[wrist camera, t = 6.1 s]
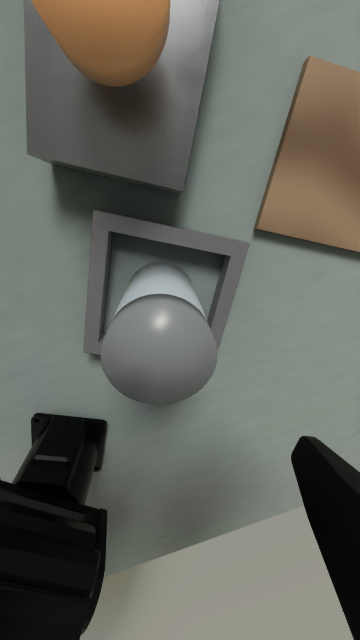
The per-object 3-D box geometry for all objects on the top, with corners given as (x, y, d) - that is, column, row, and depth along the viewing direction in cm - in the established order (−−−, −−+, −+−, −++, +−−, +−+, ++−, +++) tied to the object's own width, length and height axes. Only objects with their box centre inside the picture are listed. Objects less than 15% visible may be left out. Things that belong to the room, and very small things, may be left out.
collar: (208, 360, 22) (211, 370, 20) (88, 342, 20) (83, 352, 19) (243, 241, 18) (249, 243, 17) (99, 209, 17) (93, 209, 15)
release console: (179, 194, 17) (183, 191, 14) (51, 163, 15) (27, 154, 13) (220, -24, 13) (236, -87, 10) (53, -84, 12) (20, -174, 9)
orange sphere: (159, 119, 12) (157, 76, 8) (66, 94, 12) (16, 34, 8) (177, -5, 11) (186, -134, 7) (69, -42, 10) (8, -208, 6)
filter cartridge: (186, 329, 20) (201, 410, 12) (123, 319, 20) (96, 397, 12) (200, 269, 19) (230, 315, 10) (132, 255, 18) (106, 294, 10)
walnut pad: (367, 253, 19) (373, 255, 18) (254, 228, 18) (257, 228, 17) (438, 106, 15) (448, 102, 15) (304, 61, 14) (309, 55, 14)
